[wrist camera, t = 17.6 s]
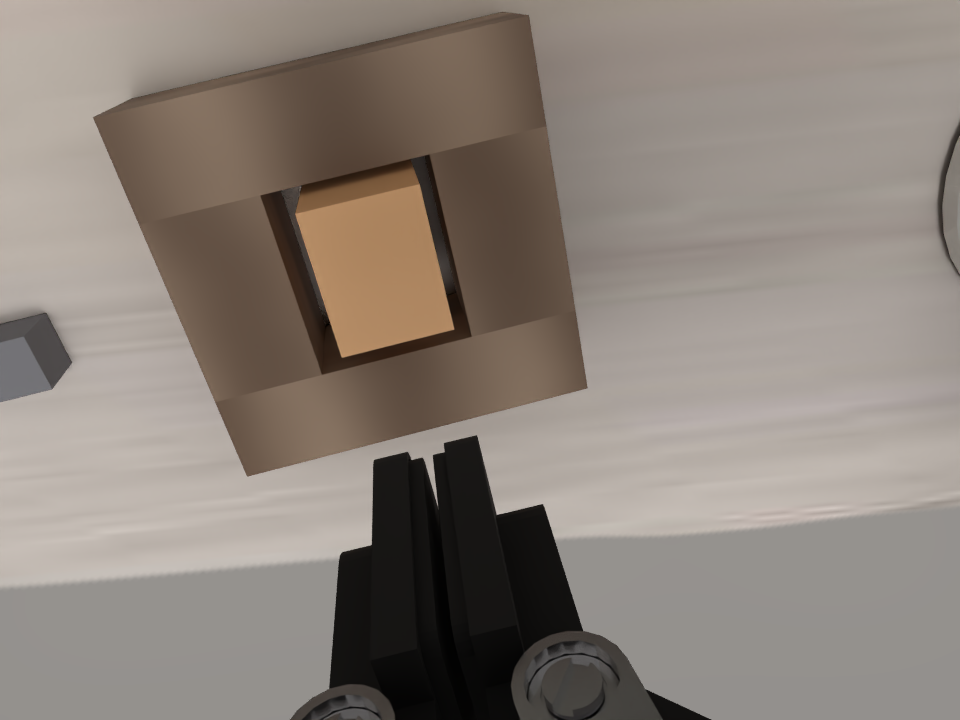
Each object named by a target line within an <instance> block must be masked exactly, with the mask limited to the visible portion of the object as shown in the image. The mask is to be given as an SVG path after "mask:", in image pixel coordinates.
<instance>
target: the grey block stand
mask: <svg viewBox="0 0 960 720" xmlns="http://www.w3.org/2000/svg"><path fill="white" fill-rule="evenodd" d="M71 363H72V362H71V361H70V359H69V357H68V355H67V353H66V351H65V349H64V347H63V345H62V343H61V341H60V339H59V337H58V336H57V334H56V332H55V330H54V328H53V326H52V324H51V322H50V320H49V318H48V316H47V314H46V313H44V314H40V315H36V316H32V317H28V318H24V319H20V320H16V321H12V322H8V323H4V324H0V402H3V401H7V400H11V399H15V398H19V397H23V396H27V395H31V394H35V393H39V392H43V391H47V390H51V389H53V388H54V386H55V385H56V384H57V382H58V381H59V380H60V378H61V377H62V376H63V374H64V373H65V372H66V370H67V369H68V367H69V366H70V365H71Z"/></svg>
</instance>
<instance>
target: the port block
mask: <svg viewBox="0 0 960 720" xmlns="http://www.w3.org/2000/svg"><path fill="white" fill-rule="evenodd" d="M93 118H94V121H95V123H96V125H97V128H98V130H99V132H100V135H101V137H102V139H103V142H104V144H105V146H106V149H107V151H108V153H109V156H110V158H111V160H112V163H113V165H114V167H115V170H116V172H117V174H118V177H119V179H120V181H121V184H122V186H123V188H124V191H125V193H126V195H127V198H128V200H129V202H130V205H131V207H132V209H133V212H134V214H135V216H136V219H137V221H138V223H139V226H140V228H141V230H142V233H143V235H144V237H145V240H146V242H147V244H148V247H149V249H150V251H151V253H152V256H153V258H154V260H155V263H156V265H157V267H158V270H159V272H160V274H161V277H162V279H163V281H164V284H165V286H166V288H167V291H168V293H169V295H170V298H171V300H172V302H173V305H174V307H175V309H176V312H177V314H178V316H179V319H180V321H181V323H182V326H183V328H184V330H185V333H186V335H187V337H188V340H189V342H190V344H191V347H192V349H193V351H194V354H195V356H196V358H197V361H198V363H199V365H200V368H201V370H202V372H203V375H204V377H205V379H206V382H207V384H208V386H209V389H210V391H211V393H212V396H213V398H214V400H215V403H216V405H217V407H218V410H219V412H220V414H221V417H222V419H223V421H224V424H225V426H226V428H227V431H228V433H229V435H230V437H231V440H232V442H233V444H234V447H235V449H236V451H237V454H238V456H239V458H240V461H241V463H242V465H243V468H244V470H245V472H246V475H247V476H251V475H255V474H259V473H263V472H267V471H270V470H274V469H278V468H282V467H286V466H290V465H294V464H297V463H301V462H305V461H309V460H313V459H317V458H321V457H324V456H328V455H332V454H336V453H340V452H344V451H348V450H351V449H355V448H359V447H363V446H367V445H371V444H374V443H378V442H382V441H386V440H390V439H394V438H398V437H401V436H405V435H409V434H413V433H417V432H421V431H425V430H428V429H432V428H436V427H440V426H444V425H448V424H452V423H455V422H459V421H463V420H467V419H471V418H475V417H478V416H482V415H486V414H490V413H494V412H498V411H502V410H505V409H509V408H513V407H517V406H521V405H525V404H529V403H532V402H536V401H540V400H544V399H548V398H552V397H556V396H559V395H563V394H567V393H571V392H575V391H579V390H582V389H586V388H587V382H586V376H585V369H584V363H583V357H582V350H581V344H580V337H579V331H578V325H577V318H576V312H575V306H574V299H573V293H572V287H571V280H570V274H569V268H568V261H567V255H566V249H565V242H564V236H563V230H562V223H561V217H560V210H559V204H558V198H557V191H556V185H555V179H554V172H553V166H552V160H551V153H550V147H549V141H548V134H547V128H546V122H545V115H544V109H543V102H542V96H541V90H540V83H539V77H538V71H537V64H536V58H535V52H534V45H533V39H532V33H531V26H530V20H529V15H522V14H514V13H506V12H500V13H496V14H492V15H487V16H483V17H479V18H475V19H470V20H466V21H462V22H457V23H453V24H449V25H445V26H440V27H436V28H432V29H427V30H423V31H419V32H415V33H410V34H406V35H402V36H397V37H393V38H389V39H385V40H380V41H376V42H372V43H368V44H363V45H359V46H355V47H350V48H346V49H342V50H338V51H333V52H329V53H325V54H320V55H316V56H312V57H308V58H303V59H299V60H295V61H290V62H286V63H282V64H278V65H273V66H269V67H265V68H261V69H256V70H252V71H248V72H243V73H239V74H235V75H231V76H226V77H222V78H218V79H213V80H209V81H205V82H201V83H196V84H192V85H188V86H183V87H179V88H175V89H171V90H166V91H162V92H158V93H154V94H149V95H145V96H141V97H136V98H132V99H130V100H128V101H126V102H124V103H122V104H120V105H118V106H116V107H114V108H111V109H109V110H107V111H105V112H103V113H101V114H99V115H97V116H95V117H93ZM421 156H424V158H425V162H426V166H427V170H428V175H429V179H430V183H431V187H432V192H433V196H434V200H435V204H436V209H437V213H438V217H439V221H440V226H441V230H442V234H443V238H444V242H445V247H446V251H447V255H448V259H449V264H450V268H451V272H452V276H453V281H454V285H455V289H456V293H455V294H451V295H448V296H446V297H447V301H448V305H449V309H450V313H451V317H452V322H453V326H454V330H451V331H447V332H443V333H439V334H435V335H431V336H427V337H423V338H419V339H415V340H411V341H407V342H403V343H399V344H395V345H391V346H387V347H383V348H379V349H375V350H371V351H367V352H363V353H359V354H355V355H351V356H347V357H343V358H342V357H341V354H340V351H339V348H338V345H337V342H336V339H335V336H334V332H333V329H332V326H331V325H328V326H325V323H324V320H323V317H322V314H321V311H320V308H319V305H318V302H317V299H316V296H315V293H314V290H313V287H312V284H311V281H310V278H309V275H308V272H307V269H306V266H305V263H304V260H303V257H302V254H301V251H300V248H299V245H298V242H297V239H296V235H295V232H294V229H293V226H292V223H291V220H290V217H289V214H288V211H287V208H286V205H285V202H284V199H283V196H282V193H281V190H284V189H288V188H293V187H297V186H301V185H305V184H309V183H313V182H317V181H321V180H326V179H330V178H334V177H338V176H342V175H346V174H350V173H355V172H359V171H363V170H367V169H371V168H375V167H379V166H384V165H388V164H392V163H396V162H400V161H404V160H408V159H412V158H417V157H421Z"/></svg>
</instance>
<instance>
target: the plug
mask: <svg viewBox="0 0 960 720" xmlns="http://www.w3.org/2000/svg"><path fill="white" fill-rule="evenodd" d="M295 215H296V218H297V221H298V224H299V227H300V230H301V234H302V237H303V240H304V243H305V246H306V249H307V252H308V255H309V258H310V261H311V264H312V268H313V271H314V274H315V277H316V280H317V283H318V286H319V289H320V292H321V295H322V298H323V302H324V305H325V308H326V311H327V314H328V317H329V320H330V323H331V326H332V329H333V332H334V336H335V339H336V342H337V345H338V348H339V351H340V354H341V357H342V358H343V357H347V356H351V355H355V354H359V353H363V352H367V351H371V350H375V349H379V348H383V347H387V346H391V345H395V344H399V343H403V342H407V341H411V340H415V339H419V338H423V337H427V336H431V335H435V334H439V333H443V332H447V331H451V330H454V326H453V322H452V317H451V313H450V309H449V305H448V301H447V297H446V292H445V288H444V284H443V280H442V276H441V272H440V267H439V263H438V259H437V255H436V251H435V247H434V242H433V238H432V234H431V230H430V226H429V222H428V217H427V213H426V209H425V205H424V201H423V197H422V192H421V188H420V184H419V181H418V179H417V176H416V173H415V171H414V168H413V165H412V162H411V160H410V159H408V160H404V161H400V162H396V163H392V164H388V165H384V166H379V167H375V168H371V169H367V170H363V171H359V172H355V173H350V174H346V175H342V176H338V177H334V178H330V179H326V180H321V181H317V182H313V183H309V184H305V185H302V188H301V192H300V196H299V201H298V205H297V209H296V213H295Z"/></svg>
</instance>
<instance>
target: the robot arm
mask: <svg viewBox="0 0 960 720" xmlns="http://www.w3.org/2000/svg"><path fill="white" fill-rule="evenodd" d="M942 211H943V229H944V236H945V240H946V244H947V247H948V251H949V254H950V258H951V260H952V261H953V263H954V265H955V267H956V268H957V270H958V272H959V274H960V136H959V138H958V140H957V143H956V145H955V148H954V152H953V155H952V158H951V162H950V165H949V168H948V172H947V175H946V181H945V189H944V197H943V204H942ZM444 448H445V452H444V453H440V454H436V455H433V462H434V471H435V481H436V490H437V499H438V506H437V503H436V499H435V496H434V492H433V489H432V485H431V482H430V478H429V475H428V472H427V468H426V465H425V462H424V459H423V458H419V459H415V460H411V457H410V455H409V453H408V452H405V453H401V454H397V455H392V456H388V457H384V458H380V459H376V460H374V464H373V516H372V545H371V546H366V547H362V548H358V549H354V550H350V551H346V552H342V554H341V555H340V559H339V567H338V580H337V593H336V607H335V620H334V634H333V647H332V660H331V674H330V686H329V689H328V690H326V691H325V692H322V693H320V694H318V695H317V696H315V697H313V698H312V699H310V700H309V701H308V702H307V703H306V704H304V705H303V706H302V707H301V708H299V709H298V710H297V711H296V713H295V714H294V715H293V717H292V718H291V719H290V720H711V719H709V718H706V717H704V716H702V715H700V714H698V713H696V712H693V711H691V710H689V709H687V708H685V707H683V706H680V705H678V704H676V703H674V702H672V701H670V700H667V699H665V698H663V697H661V696H659V695H657V694H654V693H652V692H650V691H648V690H646V689H645V688H644V686H643V684H642V683H641V681H640V679H639V678H638V676H637V674H636V672H635V671H634V669H633V667H632V666H631V664H630V662H629V660H628V658H627V657H626V656H625V655H624V653H623V652H622V651H621V650H620V649H619V647H618V646H617V645H616V644H614V643H612V642H611V641H609V640H608V639H606V638H604V637H603V636H600V635H596V634H593V633H589V632H585V631H583V629H582V626H581V623H580V619H579V616H578V613H577V610H576V607H575V604H574V600H573V597H572V594H571V591H570V588H569V584H568V581H567V578H566V575H565V572H564V568H563V565H562V562H561V559H560V556H559V553H558V549H557V546H556V543H555V540H554V537H553V533H552V530H551V527H550V524H549V521H548V517H547V514H546V511H545V508H544V506H543V504H541V505H537V506H533V507H529V508H525V509H521V510H516V511H512V512H508V513H504V514H500V515H496V511H495V506H494V502H493V498H492V494H491V490H490V486H489V482H488V478H487V474H486V470H485V466H484V462H483V458H482V453H481V449H480V445H479V441H478V437H477V435H476V436H472V437H468V438H464V439H459V440H455V441H451V442H447V443H444ZM438 508H439V510H438Z"/></svg>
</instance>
